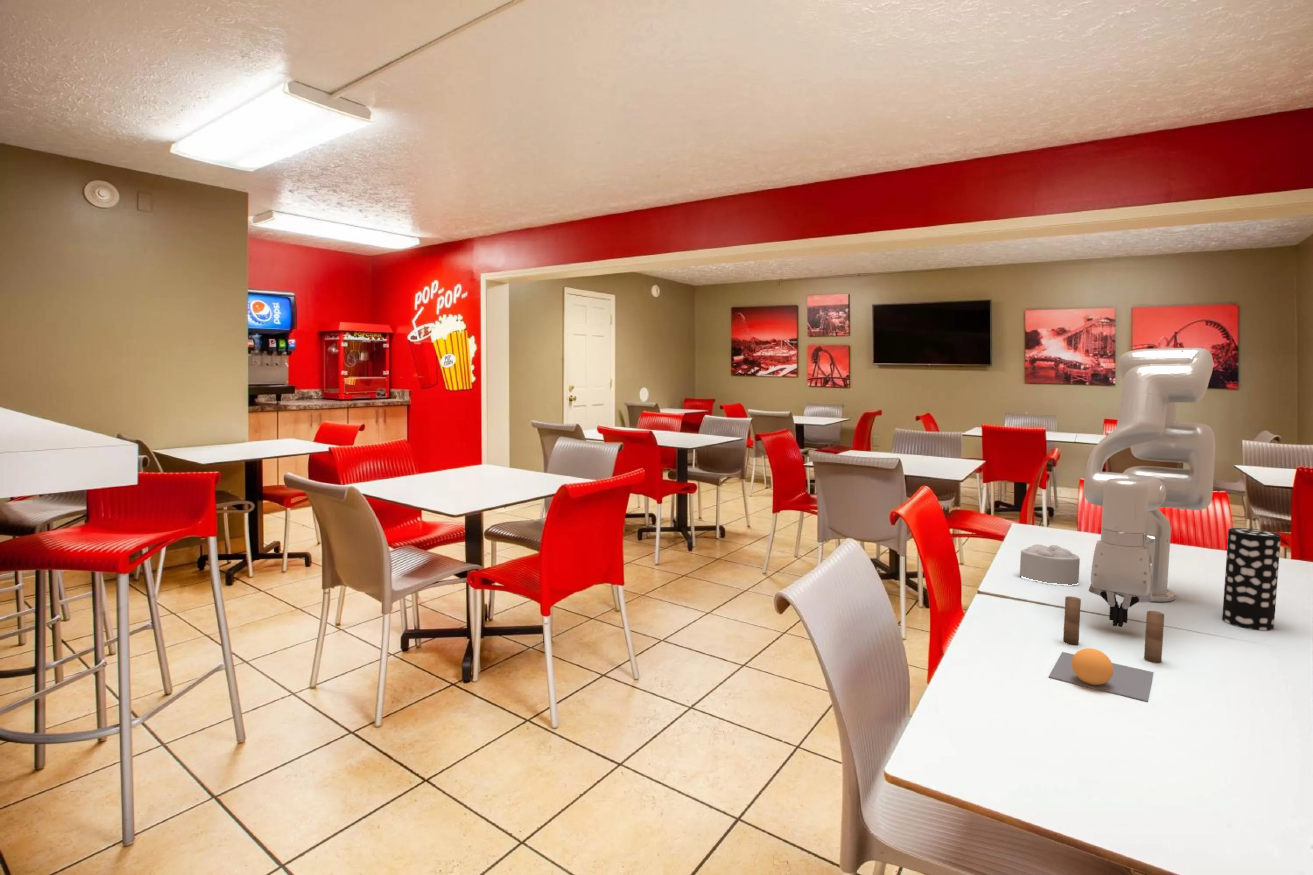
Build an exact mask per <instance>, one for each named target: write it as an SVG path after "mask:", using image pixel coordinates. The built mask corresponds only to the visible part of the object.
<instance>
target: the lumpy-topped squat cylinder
mask: <svg viewBox="0 0 1313 875" xmlns="http://www.w3.org/2000/svg"><path fill="white" fill-rule="evenodd" d="M1019 559H1020V561H1019V562H1020V563H1019V564H1020V565H1019V567H1020V568H1019V576H1020V575H1021V576H1023V577H1026V578H1029V579H1033V580H1038V581H1042V582H1047V583H1057V584H1068V585H1072V584H1077V583H1079V582H1080V560H1081V558H1080V556H1078V555H1076V554H1074V553H1072V552H1071V551H1070V550H1069V549H1067V548H1062V547H1061V546H1059V545H1054V544H1052V545H1049V546H1047V545H1046V546H1045V545H1042V544H1033V545H1032V546H1029V547H1027V548H1025V549H1021V550H1020V558H1019Z"/></svg>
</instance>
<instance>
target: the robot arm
mask: <svg viewBox="0 0 1313 875" xmlns="http://www.w3.org/2000/svg"><path fill="white" fill-rule="evenodd" d="M1213 368H1214V358H1213V355H1212V354H1211V352H1210V351H1209V350H1208V349H1206V348H1203V347H1174V348H1165V347H1164V348H1162V347H1160V348H1142V349H1141V348H1140V349H1134V350H1133V349H1132V350H1129V351H1126V352H1124V353H1122V354H1121V356H1120V357H1119V360H1118V369H1119V373H1120V376H1121V379H1122V386H1121V394H1120V402H1119V409H1118V413H1117V414H1118V415H1117V421H1116V427H1115V429H1114V430H1113V431H1111V432H1109V433H1108V434H1107V435H1106V436H1104V437H1103V438H1102V439H1101V440H1100V441H1099V442H1098V443H1097V444H1096V445H1095V446H1094V447H1093V449H1092V450H1091V452H1090V453H1089V457H1088V459H1087V463H1086V468H1085V473H1084V481H1083V496H1084V498H1085V499H1086V502H1088V503H1090V504H1091V505H1094V506H1097V507H1098V506H1100V507H1102V510H1101V511H1102V512H1101V530H1100V531H1101V532H1100V533H1101V534H1100V535H1101V536H1100V540H1097V541H1096V543H1095V547H1094V550H1093V552H1094V553H1093V556H1092V564H1091V572H1090V574H1091V575H1090V584H1089V585H1090V586H1089V588H1088V592H1089V593H1091V594H1094V595H1096V596H1099V597H1101V598H1102V599H1103V600H1104V601H1105V602H1106V603H1107V605H1108V606H1109V616H1108V617H1109V618H1108V620H1109V621H1112V626H1113V627H1118V628H1123V625H1124V624H1127V623H1128V618H1129V617H1128V616H1129V615H1128V614H1129V613H1128V612H1129V608H1131V607H1132V606H1134V605H1136V604H1137V603H1138V604H1139V603H1152V602H1159V603H1161V602H1162V603H1165V602H1172V601H1174V600H1175V597H1176V594H1175V592H1173V591H1172V590H1170V589H1168V581H1169V580H1168V579H1169V566H1170V565H1169V563H1170V551H1171V549H1170V548H1171V534H1172V527H1171V524H1170V520H1168V518H1167V517H1166V515H1165V514H1164V513H1163V512H1162V511H1161V510H1160V509H1159V508H1170V509H1179V510H1188V511H1202V510H1205V509H1207V508H1208V507H1209V506H1210V504H1211V502H1212V498H1213V490H1214V474H1215V462H1216V461H1215V460H1216V459H1215V458H1216V438H1215V433H1214V431H1213V429H1212V428H1211V427H1210V426H1209V425H1207V424H1205V423H1198V422H1182V421H1181V422H1178V421H1177V419H1176V418H1177V416H1176V414H1177V403H1184V404H1185V403H1197V402H1200V401H1201V400H1202V399H1204V397H1205V395H1206V393H1207V390H1208V388H1209V383H1210V380H1211V377H1212V373H1213V370H1214V369H1213ZM1129 448H1130V451H1131V454H1132V456H1134V458H1137V459H1138V460H1144V461H1151V462H1153V461H1154V462H1166V463H1179V464H1180V463H1181V464H1186V465H1187V466H1188V467H1189V468H1177V467H1165V466H1152V465H1151V466H1150V465H1137V466H1132V467H1131V466H1130V467H1128V468H1126V469H1125V470H1124V471H1123V472H1122V473H1121V472H1110V471H1103V467H1104V466H1105V463H1106V462H1107V461H1108V459H1109V458H1111V457H1112V456H1114V455H1115V454H1117V453H1118V452H1121V451H1124V450H1126V449H1129ZM1116 594H1117V595H1120V596H1123V600H1122V602H1121V603H1120V604H1119V602H1118V600H1117V595H1116Z"/></svg>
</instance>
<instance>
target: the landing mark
mask: <svg viewBox="0 0 1313 875" xmlns="http://www.w3.org/2000/svg"><path fill="white" fill-rule="evenodd" d="M1074 655H1075V653H1069V652H1065V651H1062V652H1061V653H1060V656H1059V657H1058V658H1057V661H1056V662H1055V664H1054V666H1053V668H1052V670H1051V671H1050V673H1049V675H1048V678H1049V679H1054V680H1057V681H1061V682H1064V683H1070V684H1073V685H1078V686H1081V687H1086V688H1090V689H1094V690H1097V691H1102V692H1106V693H1109V694H1113V695H1118V696H1122V697H1126V698H1130V699H1134V700H1138V701H1143V702H1146V703H1148V702H1149V698H1150V694H1151V693H1150V692H1151V687H1152V683H1153V682H1152V681H1153V676H1154V672H1153V671H1150V670H1144V669H1140V668H1137V667H1132V666H1127V665H1122V664H1119V663H1115V662H1112V665H1113V675H1112V677H1111V679H1110V680H1109V681H1108V682H1106V683H1104V684H1101V685H1091V684H1087V683H1085V682H1083V681H1082V680H1080V679H1079V678H1078V677H1077V676H1076V674H1075V673H1074V671H1073V669H1072V658H1073V656H1074Z"/></svg>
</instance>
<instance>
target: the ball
mask: <svg viewBox="0 0 1313 875" xmlns="http://www.w3.org/2000/svg"><path fill="white" fill-rule="evenodd" d="M1112 663H1113V662H1112V661H1111V659H1110V658H1109V656H1108V655H1107V654H1105V653H1104V652H1103V651H1101V650H1099V649H1096V648H1092V647H1091V648H1090V647H1088V648H1087V647H1086V648H1082V649H1079V650H1078V651H1076V652H1075V653H1074V656H1073V658H1072V669H1073V671H1074V673H1075V674H1076V676H1077V677H1078V678H1079V679H1080V680H1082V681H1083V682H1085V683H1087V684H1091V685H1101V684H1104V683H1106V682H1108V681H1109V680H1110V679H1111V677H1112V675H1113V665H1112Z"/></svg>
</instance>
